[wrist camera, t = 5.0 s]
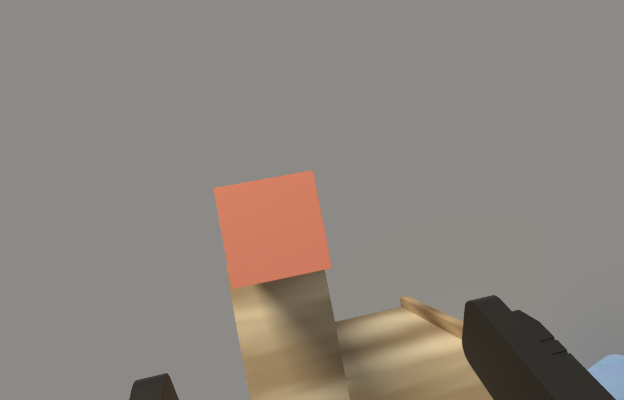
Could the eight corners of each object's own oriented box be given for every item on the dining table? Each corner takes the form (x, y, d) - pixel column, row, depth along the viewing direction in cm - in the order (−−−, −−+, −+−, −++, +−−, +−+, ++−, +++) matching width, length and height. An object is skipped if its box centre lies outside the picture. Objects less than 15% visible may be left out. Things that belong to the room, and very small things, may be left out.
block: (344, 265, 13) (320, 144, 13) (219, 292, 13) (195, 165, 13) (291, 242, 36) (282, 197, 36) (245, 251, 35) (237, 205, 36)
